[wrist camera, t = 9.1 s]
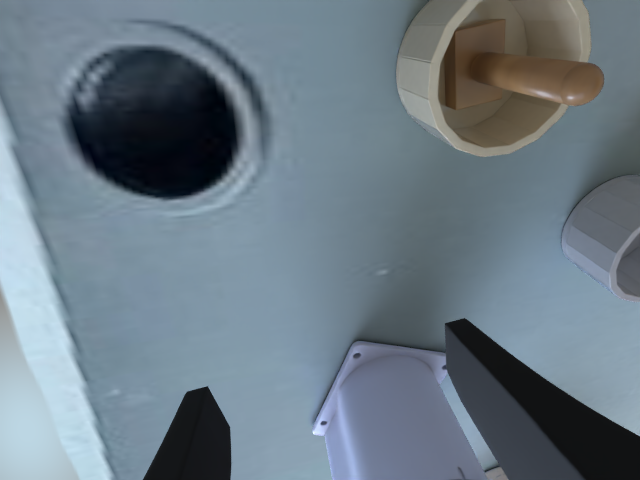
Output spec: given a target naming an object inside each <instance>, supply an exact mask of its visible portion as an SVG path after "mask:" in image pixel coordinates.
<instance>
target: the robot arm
mask: <svg viewBox="0 0 640 480" xmlns="http://www.w3.org/2000/svg"><path fill="white" fill-rule="evenodd" d="M445 343H446V353H442V352H435V351H428V350H421V349H414V348H407V347H400V346H393V345H386V344H379V343H372V342H365V341H357V342H355V343H353V344H352V346H351V348H350V350H349V352H348V354H347V356H346V358H345V361H344V363H343V365H342V367H341V369H340V371H339V373H338V375H337V377H336V379H335V381H334V383H333V386H332V388H331V390H330V392H329V394H328V396H327V398H326V400H325V402H324V404H323V406H322V409H321V411H320V413H319V415H318V417H317V419H316V421H315V423H314V425H313V428H312V430H313V433H314V434H315V435H320V436H325V440H326V445H327V451H328V457H329V462H330V468H331V474H332V480H488V478H487V476H486V474H485V472H484V470H483V469H482V467H481V465H480V463H479V461H478V459H477V457H476V455H475V453H474V451H473V449H472V447H471V445H470V443H469V442H468V440H467V438H466V436H465V434H464V432H463V430H462V428H461V426H460V424H459V422H458V420H457V418H456V416H455V415H454V413H453V411H452V409H451V407H450V405H449V403H448V401H447V399H446V397H445V395H444V393H443V391H442V390H441V388H440V386H439V385H440V384H441V382H442V381H443V379H444V378H445V376H446V375H447V373H448V374H449V376H450V378H451V381H452V383H453V385H454V387H455V389H456V391H457V393H458V395H459V398H460V400H461V402H462V403H463V405H464V407H465V408H466V410H467V412H468V414H469V415H470V417H471V419H472V420H473V422H474V424H475V425H476V427H477V429H478V430H479V432H480V433H481V435H482V437H483V438H484V440H485V442H486V443H487V445H488V447H489V448H490V450H491V452H492V453H493V455H494V457H495V458H496V460H497V461H498V463H499V465H500V466H501V468H502V470H503V471H504V473H505V475H506V476H507V478H508V480H640V436H638V435H636V434H634V433H633V432H631V431H629V430H627V429H625V428H624V427H622V426H620V425H618V424H616V423H615V422H613V421H611V420H609V419H608V418H606V417H604V416H603V415H601V414H599V413H598V412H596V411H594V410H592V409H591V408H589V407H588V406H586V405H584V404H583V403H581V402H579V401H578V400H576V399H575V398H573V397H572V396H570V395H568V394H567V393H565V392H564V391H562V390H561V389H559V388H558V387H556V386H555V385H553V384H552V383H550V382H549V381H547V380H546V379H545V378H543V377H542V376H540V375H539V374H537V373H536V372H535V371H533V370H532V369H530V368H529V367H528V366H526V365H525V364H524V363H522V362H521V361H519V360H518V359H517V358H515V357H514V356H513V355H511V354H510V353H509V352H507V351H506V350H505V349H503V348H502V347H501V346H500V345H498V344H497V343H496V342H494V341H493V340H492V339H491V338H489V337H488V336H487V335H486V334H484V333H483V332H482V331H481V330H479V329H478V328H477V327H476V326H474V325H473V324H472V323H471V322H470V321H468V320H467V319H465V318H464V319H460V320H456V321H452V322H449V323H445ZM355 353H357V354H355ZM230 476H231V439H230V426H229V424H228V423H227V421H226V419H225V417H224V415H223V414H222V412H221V410H220V408H219V406H218V404H217V403H216V401H215V399H214V397H213V395H212V393H211V392H210V390H209V388H208V386H207V387H203V388H199V389H196V390H192V391H188V392H187V393H186V394H185V396H184V398H183V400H182V402H181V404H180V406H179V408H178V411H177V413H176V415H175V417H174V419H173V421H172V423H171V425H170V427H169V430H168V432H167V434H166V436H165V438H164V440H163V442H162V444H161V446H160V448H159V450H158V452H157V454H156V456H155V458H154V460H153V461H152V463H151V465H150V467H149V469H148V471H147V473H146V475H145V477H144V479H143V480H230ZM489 480H492V479H489Z"/></svg>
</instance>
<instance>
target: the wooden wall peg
mask: <svg viewBox="0 0 640 480" xmlns="http://www.w3.org/2000/svg"><path fill="white" fill-rule="evenodd" d="M505 26H506V19H490V20H486V21H482V22H478V23H474V24H469V25H465V26H461V27H457V29H456V30H455V31H454V33H453V36H452V38H451V40H450V43H449V45H448V47H447V50H446V52H445V54H444V64H445V102H446V106H447V107H449V108H452V109H454V110H459V109H464V108H468V107H472V106H476V105H480V104H484V103H488V102H492V101H496V100H500V99H502V89H506V90H510V91H514V92H518V93H522V94H526V95H530V96H534V97H538V98H542V99H546V100H550V101H554V102H558V103H562V104H566V105H570V106H578V105H583V104H586V103H588V102H590V101H592V100H593V99H594V98H595V97H596V96H597V95H598V94H599V93H600V92H601V90H602V88H603V85H604V74H603V72H602V70H601V69H600V68H599V67H598V66H596V65H595V64H592V63H588V62H578V61H569V60H560V59H551V58H541V57H532V56H523V55H514V54H504V47H505Z"/></svg>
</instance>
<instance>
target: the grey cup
mask: <svg viewBox="0 0 640 480" xmlns="http://www.w3.org/2000/svg"><path fill="white" fill-rule="evenodd" d="M561 243H562V249H563V252H564V254H565V256H566V257H567V259H568V260H570V261H571V262H572V263H573V264H575V265H576V266H577V268H579V269H580V270H581V271H583V272H584V273H586V274H587V275H588V276H590V277H591V278H592V279H594V280H595V281H596V282H598V283H599V284H600V285H602V286H603V287H604V288H606V289H607V290H608V291H610V292H611V293H612V294H614V295H615V296H616V297H618V298H619V299H623V300H627V301H632V302H640V175H625V176H620V177H617V178H614V179H612V180H609V181H607V182H605V183H603V184H602V185H600V186H598V187H597V188H595V189H594V190H593V191H591V192H590V193H589V194H588V195H586V196H585V197H584V198H583V199H582V200H581V201H580V202H579V204H578V205H577V206H576V207H575V208H574V210H573V211H572V213H571V214H570V216H569V217H568V219H567V221H566V224H565V226H564V229H563V233H562V239H561Z"/></svg>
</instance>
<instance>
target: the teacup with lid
mask: <svg viewBox="0 0 640 480" xmlns="http://www.w3.org/2000/svg"><path fill="white" fill-rule="evenodd" d="M485 474H486V476H487V478H488V480H489V479H492V480H508V478H507V476H506V475H505V473H504V471H503V470H502V468H501V466H500V467H497V468H494V469H491V470H489V471H487V472H485Z"/></svg>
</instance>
